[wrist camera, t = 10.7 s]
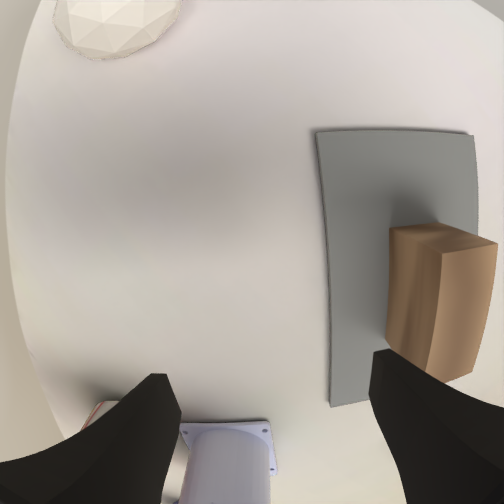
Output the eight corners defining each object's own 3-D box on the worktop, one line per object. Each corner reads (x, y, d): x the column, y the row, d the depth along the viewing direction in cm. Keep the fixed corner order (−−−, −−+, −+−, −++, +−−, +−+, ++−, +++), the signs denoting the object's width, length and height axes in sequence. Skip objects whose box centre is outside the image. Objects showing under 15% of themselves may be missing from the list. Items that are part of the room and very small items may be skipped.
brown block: (438, 222, 16) (497, 243, 10) (430, 327, 18) (471, 372, 12) (388, 227, 16) (442, 253, 11) (384, 339, 18) (420, 391, 13)
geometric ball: (175, 23, 16) (232, -36, 10) (114, 99, 15) (149, 38, 9) (101, -17, 11) (134, -88, 5) (29, 54, 11) (25, -20, 4)
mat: (450, 370, 20) (453, 373, 19) (329, 402, 21) (330, 407, 20) (468, 136, 15) (473, 135, 14) (314, 133, 16) (317, 132, 15)
